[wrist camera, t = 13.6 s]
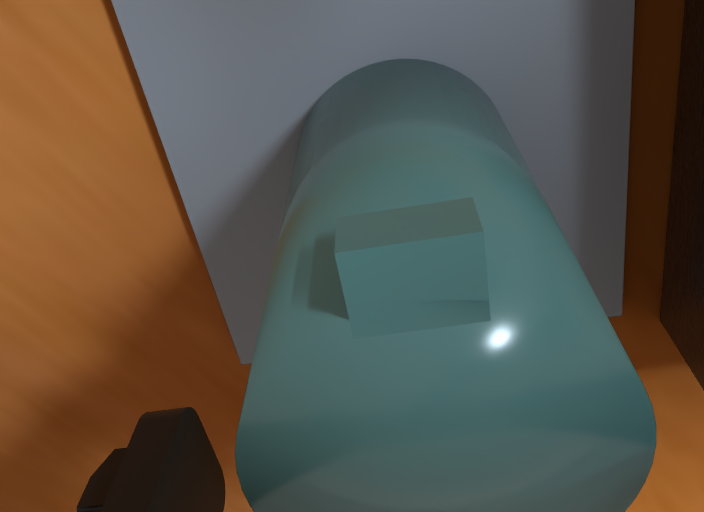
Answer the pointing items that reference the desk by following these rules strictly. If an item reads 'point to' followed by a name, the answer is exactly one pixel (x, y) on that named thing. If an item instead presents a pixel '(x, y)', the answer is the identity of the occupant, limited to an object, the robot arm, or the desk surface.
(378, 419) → the glazed jug
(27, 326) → the desk surface
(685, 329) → the dark grey rectangular frame
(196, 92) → the slate grey mat
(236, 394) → the desk surface
